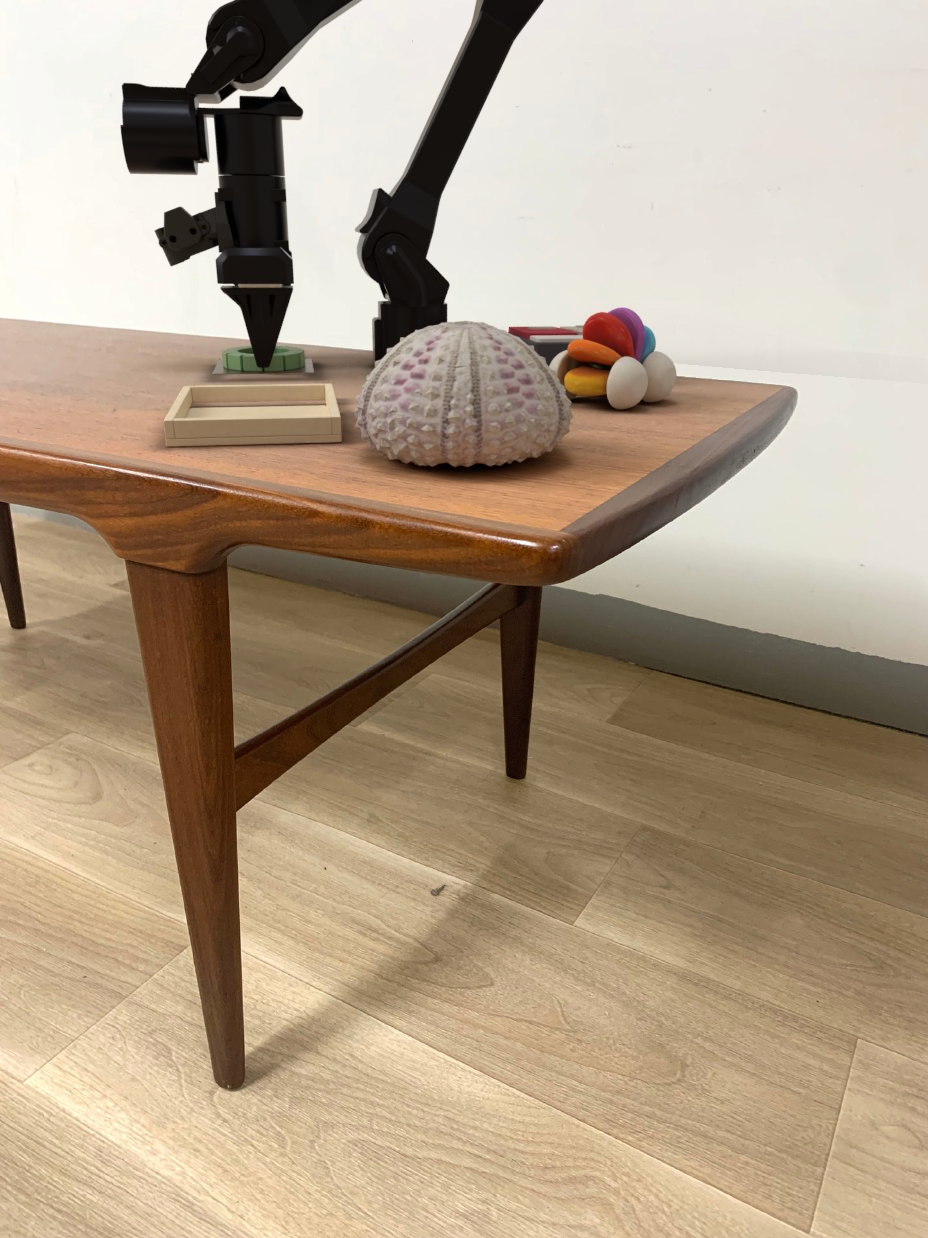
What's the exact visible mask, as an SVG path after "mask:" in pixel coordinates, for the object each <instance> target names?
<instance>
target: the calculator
mask: <svg viewBox="0 0 928 1238" xmlns="http://www.w3.org/2000/svg"><path fill="white" fill-rule="evenodd" d="M583 326H584V324H581V325H577V324H576V325H574V326H572V325H571V326H569V325H568V326H567V325H566V326H565V325H563V326H562V325H561V326H559V327H556V326H508V331H507V332H508V333H510V334H512V335H514V336H517V337H520V339H521V340H522V341H524V342H525V343H526V344H527V345H530V346H534V350H535V351H536V353H537V354H538V355H539V356H541V357H544V358H545V360H546V363H547V365H548V366H550V364H551V362H552V360H553V359H554V358H555V357H556V356H557V355H558V354H559V353H561V352H563V351H565V350H567V348H568V345H569V344H570V342H572V341H574V340H577V339H583V334H582V331H583Z"/></svg>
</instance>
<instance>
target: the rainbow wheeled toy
mask: <svg viewBox="0 0 928 1238" xmlns="http://www.w3.org/2000/svg"><path fill="white" fill-rule="evenodd" d="M583 325H584V326H583V331H582V334H583V339H577V340H574V341H572V342H570V344H569V345H568V348H567V350H565V351H563V352H561V353H559V354H558V355H557V356H556V357H555V358H554V359H553V360H552V362H551V364H550V366H549V367H550V369H552V370H554V371H556V377H557V378H558V379H559V381H560V384H562V385H563V386H565V388H564V389H566V396H568V397H567V398H568V399H569V400H570V401H571V400H573V399H575V398H576V397H578V396H584V397H585V396H586V397H587V396H588V397H596V396H604V395H606V397H607V401H608V402H609V404H610V406H611V407H612V408H613V409H616V410H627V409H631V408H633V407H634V406H637V404H638V403H640V402H641V400H642V401H643V402H646V403H655V402H656V403H657V402H659V401H662V400H664V399H665V398H667V397H668V396H669V395H670V393H671V392H672V391H673V389H674V388H675V385H676V382H677V377H678V376H677V375H678V374H677V369H676V366H675V363H674V362H673V360H672V358H670V357H669V356H668V355H667V354H665V353H664V352H662V351H658V350H656V347H657V340H656V335H655V334H654V331H653V330H652V328H650V327H649V326H647V325H645V324H644V322H643V320H642V318H641V317H640V316H639V315H638V314H637V313H636V311H634V310H632V309H631V308H628V307H617V308H614V309H611V310H609V311H608V312H605V311H599V312H596V313H594V314H592V315H590V316H589V317H588V318H587V319H586V321H585V322H584V323H583ZM655 350H656V351H655Z"/></svg>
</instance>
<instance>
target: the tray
mask: <svg viewBox="0 0 928 1238" xmlns="http://www.w3.org/2000/svg"><path fill="white" fill-rule="evenodd" d="M279 401H280V402H281V401H283V402H285V401H325V404H294V405H293V404H285V405H284V404H283V405H280V404H279V405H234V406H233V405H230V406H229V405H228V406H192V404H193V403H225V402H226V403H229V402H231V403H232V402H279ZM338 404H339V403H338V400H337V397H336V393H335V389H334V385H333V383H277V384H270V383H269V384H217V385H215V384H214V385H213V384H211V385H207V384H206V385H183V387H182V388H181V390H180V392H179V394H178V395H177V396H176V399H174V402H173V403H172V405H171V407H170V408H169V410H168V412H167V414H166V415H165V417H164V419H163V423H162V424H163V430H164V431H163V432H164V438H165V446H166V447H167V448H168V447H171V448H172V447H209V446H211V447H213V446H214V447H215V446H245V445H246V446H247V445H249V446H250V445H251V446H253V445H286V444H326V443H329V444H330V443H342V442H343V439H342V437H343V435H342V417H341V413H340V409H339V405H338Z"/></svg>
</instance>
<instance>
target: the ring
mask: <svg viewBox="0 0 928 1238" xmlns="http://www.w3.org/2000/svg"><path fill="white" fill-rule="evenodd" d="M221 358H222V359H221V360H223V366H224V367H225V368H226V369H230V370H237V371H248V372H262V371H265V372H273V371H283V370H293V369H298V368H302V367H303V366H305V359H306V351H305V349H303V348H301V347H297V346H289V345H284V346H283V345H276V347H275V351H274V354H273V357H272V361H271V364H270V366H269V367H268V368H259V367H257V365H256V361H255V357H254V354H253V350H252V347H251V345H246V346H235V347H234V346H233V347H228V348H226V349H223V350H222V351H221Z"/></svg>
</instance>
